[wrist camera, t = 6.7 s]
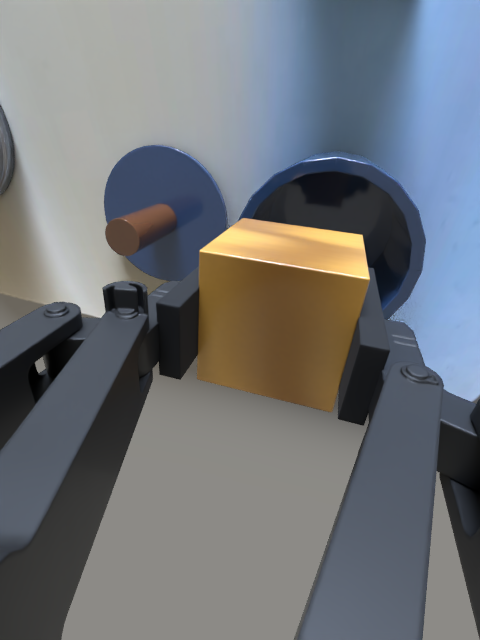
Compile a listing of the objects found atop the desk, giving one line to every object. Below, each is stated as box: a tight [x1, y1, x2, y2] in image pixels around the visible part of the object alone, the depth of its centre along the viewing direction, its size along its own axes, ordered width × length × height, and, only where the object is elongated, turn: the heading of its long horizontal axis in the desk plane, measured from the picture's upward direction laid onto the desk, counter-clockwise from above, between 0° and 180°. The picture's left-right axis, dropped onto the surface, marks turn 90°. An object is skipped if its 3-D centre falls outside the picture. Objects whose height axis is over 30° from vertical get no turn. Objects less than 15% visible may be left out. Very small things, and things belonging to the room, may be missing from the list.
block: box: [197, 218, 370, 412], centre depth 14 cm, size 5×5×5 cm
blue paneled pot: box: [238, 151, 426, 319], centre depth 27 cm, size 13×13×10 cm
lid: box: [104, 145, 227, 281], centre depth 32 cm, size 14×14×9 cm
